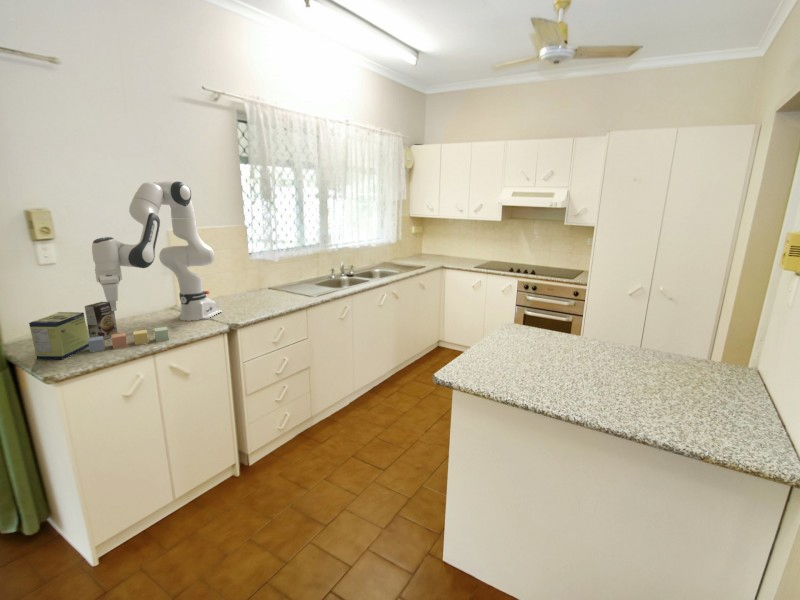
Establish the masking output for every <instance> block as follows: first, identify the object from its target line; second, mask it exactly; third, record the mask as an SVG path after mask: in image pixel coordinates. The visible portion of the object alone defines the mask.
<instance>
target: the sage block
mask: <svg viewBox="0 0 800 600" xmlns="http://www.w3.org/2000/svg"><path fill="white" fill-rule="evenodd" d="M153 331H154V339H155V342H157V341H158V342H164V341H163V340H165V341H169V340H170V337H169V330H168V327H167V326H163V327H155V328H153Z"/></svg>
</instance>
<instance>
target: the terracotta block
mask: <svg viewBox="0 0 800 600" xmlns="http://www.w3.org/2000/svg"><path fill="white" fill-rule="evenodd" d="M111 342H112V347H113V348H115V349H121V348H125V347H128V343H127V336H126V332H121V333H118V334H113V335H111ZM120 347H121V348H120ZM113 348H112V349H113Z"/></svg>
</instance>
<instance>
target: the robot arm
mask: <svg viewBox="0 0 800 600" xmlns="http://www.w3.org/2000/svg"><path fill="white" fill-rule="evenodd" d="M191 199H192V190H191V188H190V187H189V185H188V184H187V183H185V182H183V181H177V180H176V181H172V180H171V181H170V180H167V181H166V180H165V181H160V182H156V181H155V182H150V181H147V182H143V183H142V184H141V185H140V186H139V187H138V189H137V191H136V192H135V194H134V196H133V197H132V200H131V202H130V204H129V211H128V212H129V215H130V217H131V218H132V219H134V220H135V221H136V222H138V224H140V225H142V226H143V227H142V231H141V236H140V240H139V241H138V243H136V244H127V243H123V242H120V241H117V240H116V239H115V238H114V237H111V236H110V237H109V236H105V237H100V238H97V239H95V240H93V241H92V243H91V253H92V255H91V256H92V260H93V262H94V266H95V267H94V273H95V279H96V282H97V283H99V284H100V285H101V287H102V289H103V293H104V296H105V300H106V302H110V306H111V310H112V311H114V312H116V311H117V310H118V309H117V302H118V300H119V284H120V282H121V281H122V280H123V275H122V268H121V267H128V268H129V267H131V268H139V269H147V268H149V267H150V266H151V265H152V264H153V263H154V261H155V257H156V255H155V254H156V253H155V251H156V244H157V240H158V236H159V232H160V226H161V221H160V217H159V212H160V209H161V207H162V205H165V206H169V207H170V217H171V226H172V233H173V235H174V236H175V237H176V238H177V239H180V240H184V241H186V243H188V244H187V245H171V246H167V247H162V249H161V250H160V251H159V254H158V258H159V261H160V263H161V264H162V265H163V266H164V267H166V268H168V269H169V270H170V271H172V272H173V273H174V275H175V277H176V279H177V282H178V286H179V288H178V289H179V294H178V295H179V301H180V314H179V320H181V321H185V320H187V322H189V321H191V320H193V321H200V320H199V319H202V320H209V319H211V318H213V317H215V316H217V315H219V314H218V313H220V312H222V313H223V310H222V309H219V308H218V305H217V303H216V301H214V300H212V299H211V298H209V297H208V296H207V295H210V290H204V287H203V279H202V276H201V275H199V274H198V273H196V272H194V271H190V270H189V269H188V268H190V267H202V266H208V265H212V264H213V263H214V261H215V258H216V256H215V254H216V253H215V251H214V250H213V248H212V247H211V246H209V245H208V244H206V242H204V241H203V240H202V238H201V237H200V235H199V231H198V227H197V222H196V221H197V219H196V213H195V208H194V204H193V202H192V200H191ZM216 314H217V315H216ZM220 314H221V313H220ZM214 315H215V316H214ZM212 316H213V317H212ZM210 317H211V318H210Z"/></svg>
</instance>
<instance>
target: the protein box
mask: <svg viewBox="0 0 800 600" xmlns="http://www.w3.org/2000/svg"><path fill="white" fill-rule="evenodd" d="M86 323H87V322H86V317H85V313H84V312H80V311H79V312H69V311H68V312H67V311H59V312H56V313H54V314H50V315H48V316H44V317H42V318H39V319H36V320H33V321H30V322H29V323H28V324H29V329H30V333H31V338H32V342H33V343H32V344H33V348H34V352H35V356H36V357H35V358H36V360H61V359H63V360H65V359H67V358H69V357H70V355H71V356H73V355H74V353H75V354H77V353H78V351H79V352H81V351H83V350H85V349H87V348H89V344H88V338H89V333H88V327H87V324H86ZM76 352H77V353H76ZM72 354H73V355H72ZM68 356H69V357H68ZM66 357H67V358H66ZM64 358H65V359H64Z"/></svg>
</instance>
